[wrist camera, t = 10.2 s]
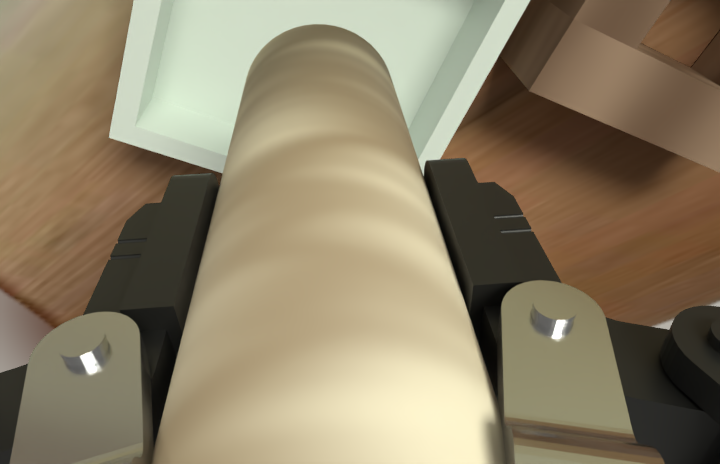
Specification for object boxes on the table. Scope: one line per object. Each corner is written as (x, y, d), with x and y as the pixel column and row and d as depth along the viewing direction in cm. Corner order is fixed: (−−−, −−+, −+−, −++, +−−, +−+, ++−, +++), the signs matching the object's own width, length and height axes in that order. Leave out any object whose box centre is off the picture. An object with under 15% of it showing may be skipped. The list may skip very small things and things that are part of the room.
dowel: (394, 20, 14) (597, 477, 4) (393, 161, 16) (518, 659, 6) (233, 28, 13) (45, 525, 4) (255, 169, 16) (174, 695, 6)
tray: (528, -74, 20) (563, -59, 17) (390, 186, 26) (399, 228, 24) (203, -247, 17) (181, -262, 14) (133, 99, 23) (108, 137, 20)
